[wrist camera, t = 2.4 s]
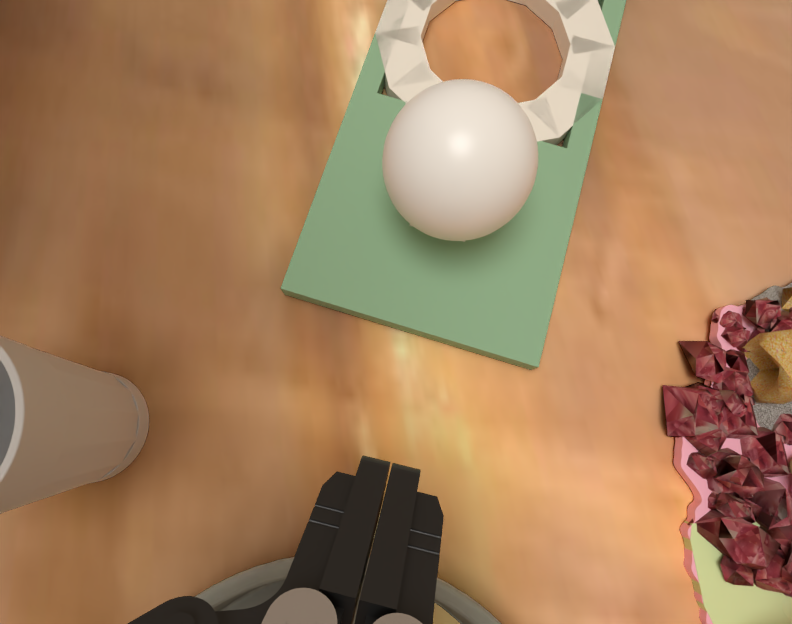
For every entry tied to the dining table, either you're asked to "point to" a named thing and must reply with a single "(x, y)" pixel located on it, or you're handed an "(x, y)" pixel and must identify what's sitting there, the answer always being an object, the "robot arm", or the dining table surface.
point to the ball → (460, 160)
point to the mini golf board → (442, 259)
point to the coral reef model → (738, 462)
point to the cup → (62, 424)
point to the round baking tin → (271, 576)
